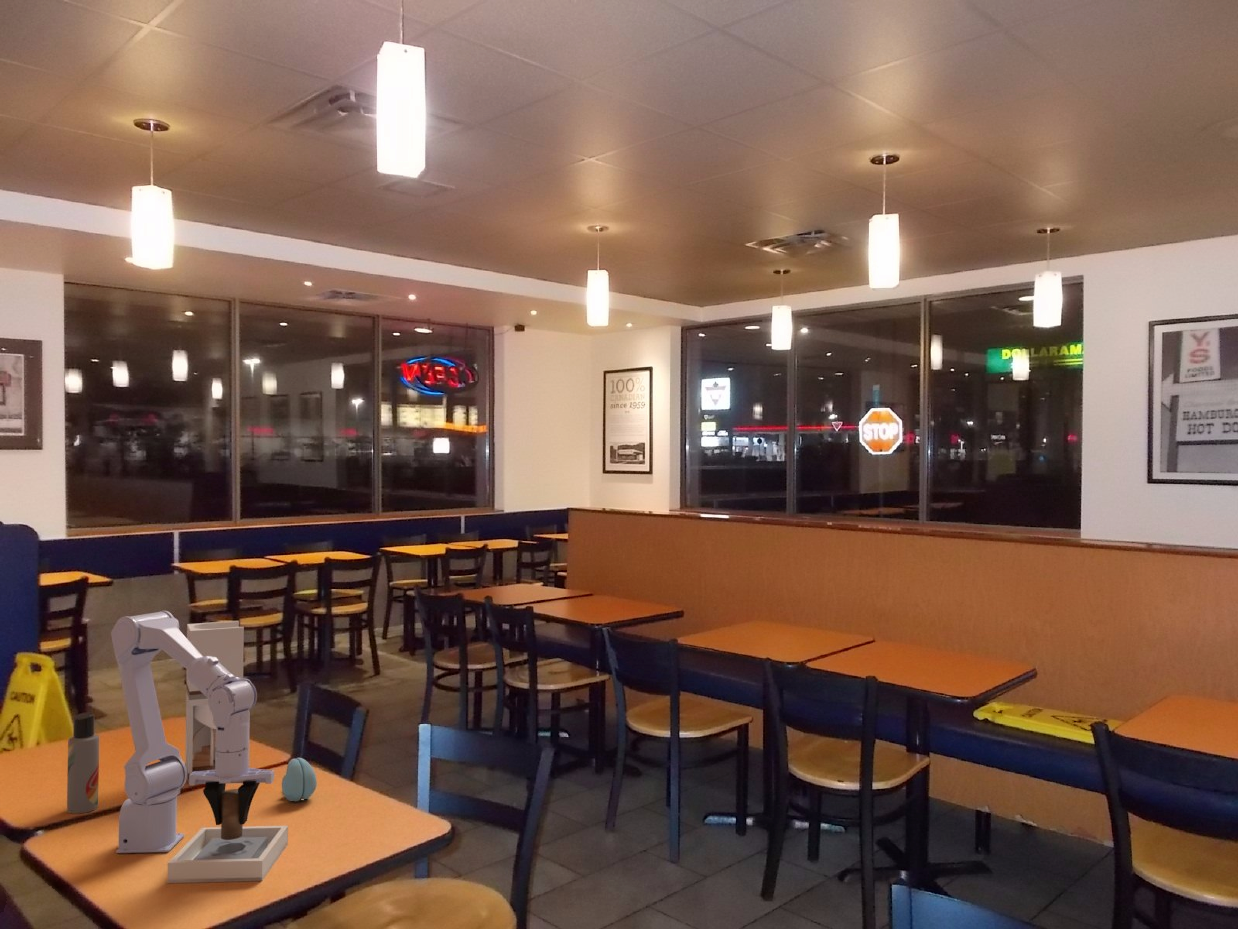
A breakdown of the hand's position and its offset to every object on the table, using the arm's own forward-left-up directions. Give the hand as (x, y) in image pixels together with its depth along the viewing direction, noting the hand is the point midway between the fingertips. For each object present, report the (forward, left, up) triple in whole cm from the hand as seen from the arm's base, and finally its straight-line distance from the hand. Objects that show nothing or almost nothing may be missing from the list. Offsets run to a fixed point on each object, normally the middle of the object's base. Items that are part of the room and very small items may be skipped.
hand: (231, 823), depth 167 cm
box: (0, 0, -7) cm, 7 cm away
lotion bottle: (-40, +29, -8) cm, 50 cm away
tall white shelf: (-21, +51, -8) cm, 56 cm away
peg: (0, 0, -3) cm, 3 cm away
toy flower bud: (+2, +34, -8) cm, 35 cm away
